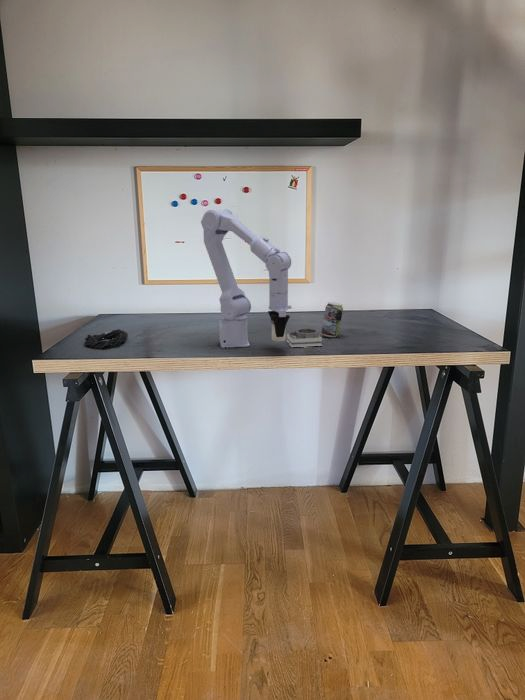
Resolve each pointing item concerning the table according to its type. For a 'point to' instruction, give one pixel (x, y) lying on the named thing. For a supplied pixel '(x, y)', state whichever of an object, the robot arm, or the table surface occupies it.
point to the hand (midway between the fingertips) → (278, 334)
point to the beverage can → (332, 319)
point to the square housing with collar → (304, 338)
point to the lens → (275, 334)
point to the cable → (115, 334)
